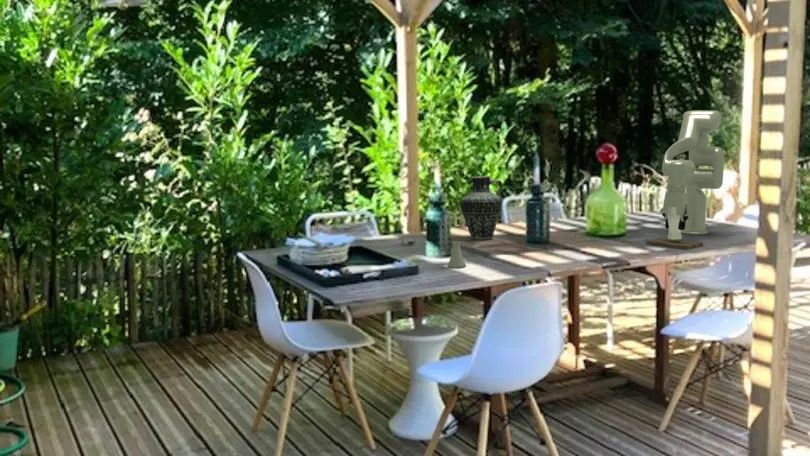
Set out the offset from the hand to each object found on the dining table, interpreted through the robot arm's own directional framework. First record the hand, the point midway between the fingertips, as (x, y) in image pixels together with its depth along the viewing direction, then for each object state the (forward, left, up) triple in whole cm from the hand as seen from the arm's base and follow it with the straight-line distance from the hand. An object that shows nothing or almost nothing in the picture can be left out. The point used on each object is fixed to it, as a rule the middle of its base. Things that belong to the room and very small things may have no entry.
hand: (675, 228), depth 370 cm
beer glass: (0, 0, -5) cm, 5 cm away
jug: (+49, -73, -8) cm, 88 cm away
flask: (+106, -32, -8) cm, 111 cm away
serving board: (0, 0, -7) cm, 7 cm away
